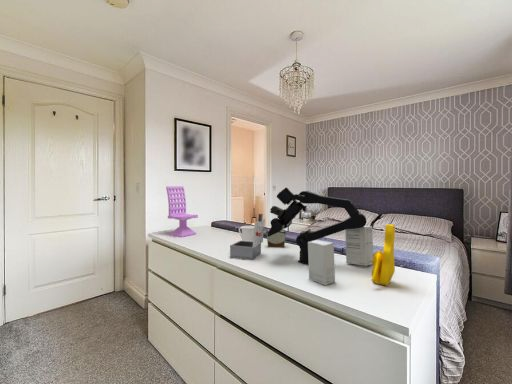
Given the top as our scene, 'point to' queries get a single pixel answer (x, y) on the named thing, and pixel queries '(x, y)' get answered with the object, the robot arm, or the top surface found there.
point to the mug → (247, 233)
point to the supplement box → (359, 245)
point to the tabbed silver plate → (258, 231)
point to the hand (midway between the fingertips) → (270, 234)
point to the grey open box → (244, 250)
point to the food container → (276, 239)
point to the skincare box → (321, 261)
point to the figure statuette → (384, 259)
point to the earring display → (182, 217)
